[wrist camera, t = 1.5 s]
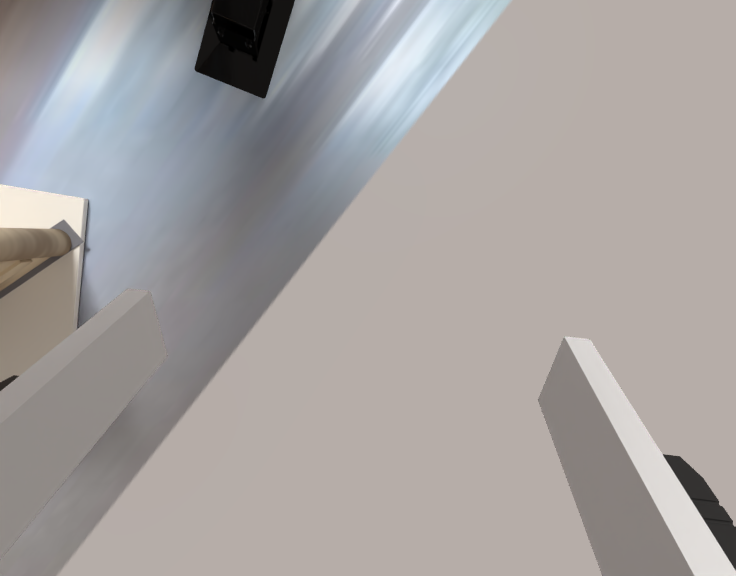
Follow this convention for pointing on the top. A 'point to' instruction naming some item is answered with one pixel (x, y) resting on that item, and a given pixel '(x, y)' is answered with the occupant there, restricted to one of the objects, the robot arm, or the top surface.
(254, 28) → the black blocky piece
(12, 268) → the fixed fence section
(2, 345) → the card
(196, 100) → the top surface
